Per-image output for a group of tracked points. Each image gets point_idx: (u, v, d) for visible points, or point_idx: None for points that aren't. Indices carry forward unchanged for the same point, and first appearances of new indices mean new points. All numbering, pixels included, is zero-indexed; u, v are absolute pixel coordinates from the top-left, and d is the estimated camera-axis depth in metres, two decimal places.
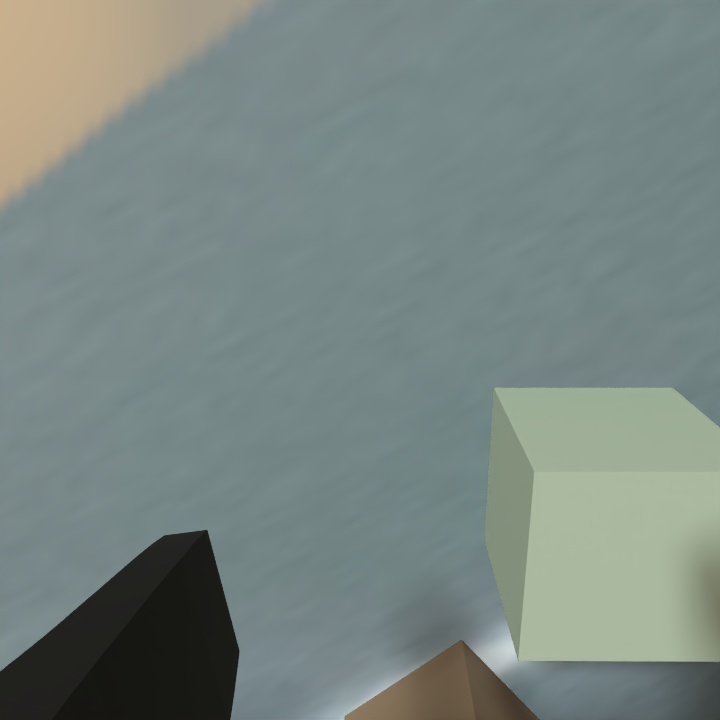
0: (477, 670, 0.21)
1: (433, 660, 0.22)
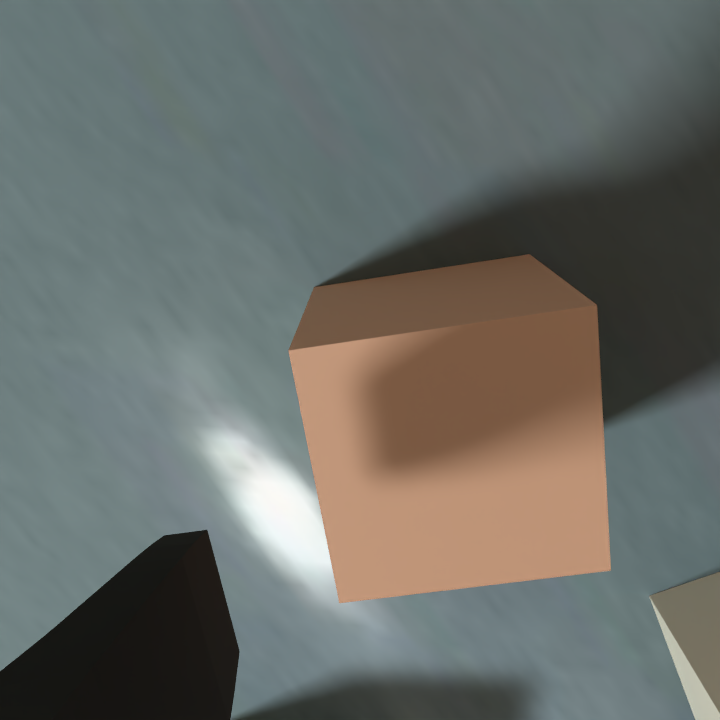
0: None
1: None
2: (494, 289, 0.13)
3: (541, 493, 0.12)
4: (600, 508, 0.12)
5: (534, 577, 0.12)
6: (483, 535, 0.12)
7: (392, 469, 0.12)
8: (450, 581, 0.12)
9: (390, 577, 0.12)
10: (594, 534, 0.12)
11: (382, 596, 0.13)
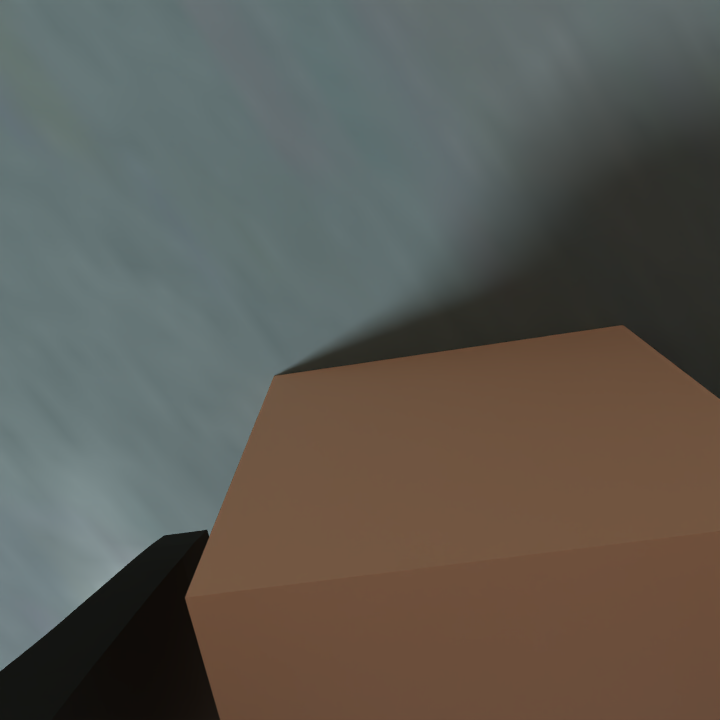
0: None
1: None
2: (595, 420, 0.07)
3: None
4: None
5: None
6: None
7: None
8: None
9: None
10: None
11: None
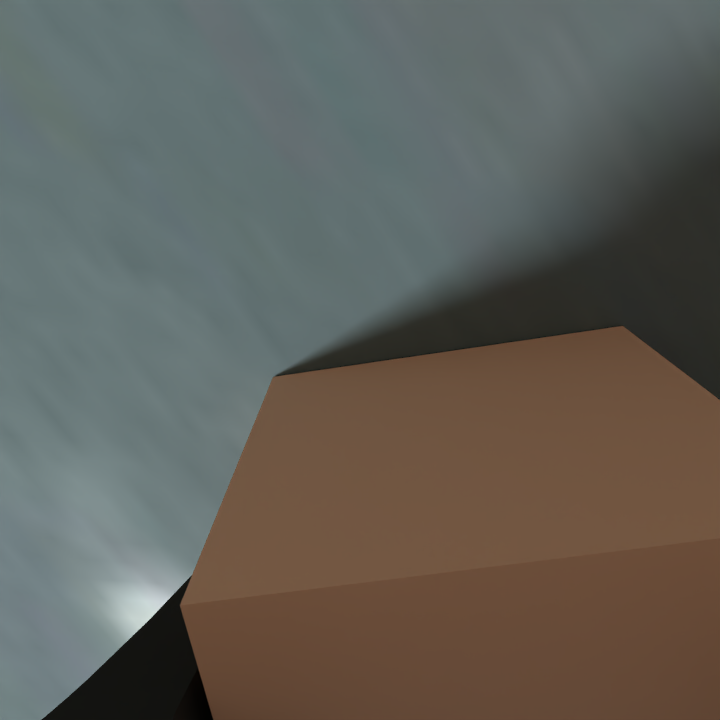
0: None
1: None
2: (597, 424, 0.07)
3: None
4: None
5: None
6: None
7: None
8: None
9: None
10: None
11: None
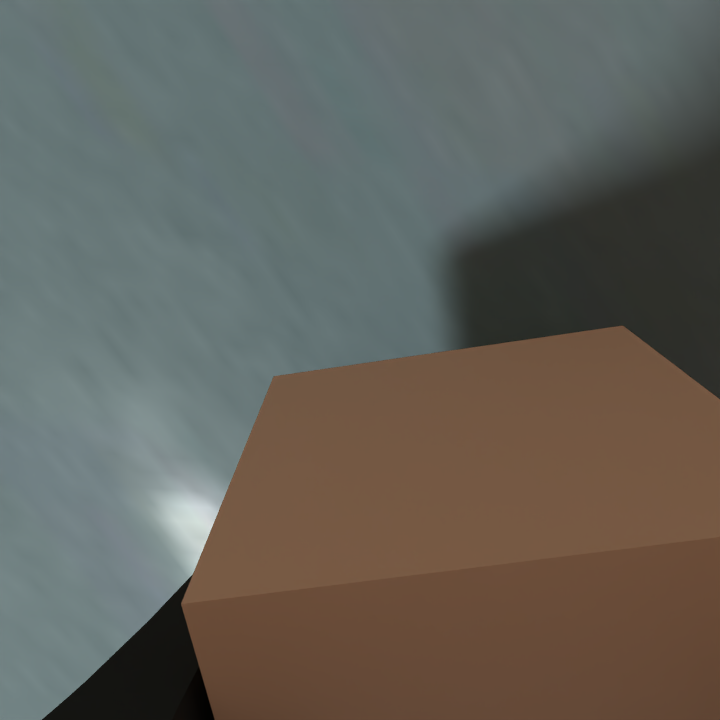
0: None
1: None
2: (596, 423, 0.07)
3: None
4: None
5: None
6: None
7: None
8: None
9: None
10: None
11: None
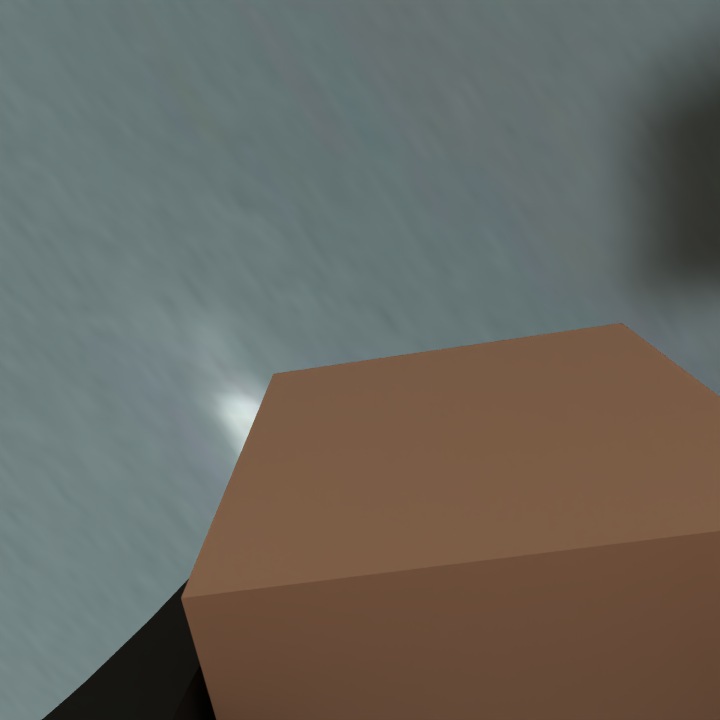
0: None
1: None
2: (595, 419, 0.07)
3: None
4: None
5: None
6: None
7: None
8: None
9: None
10: None
11: None
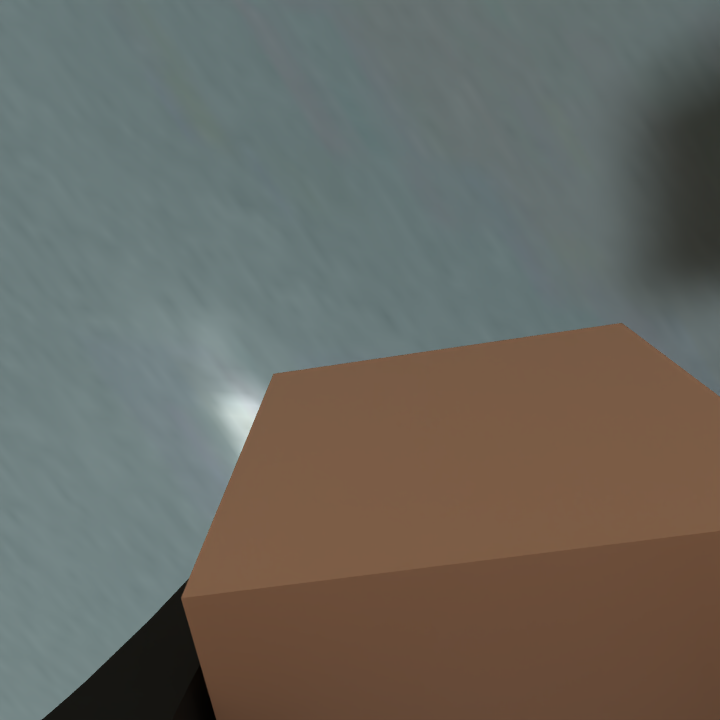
0: None
1: None
2: (595, 419, 0.07)
3: None
4: None
5: None
6: None
7: None
8: None
9: None
10: None
11: None
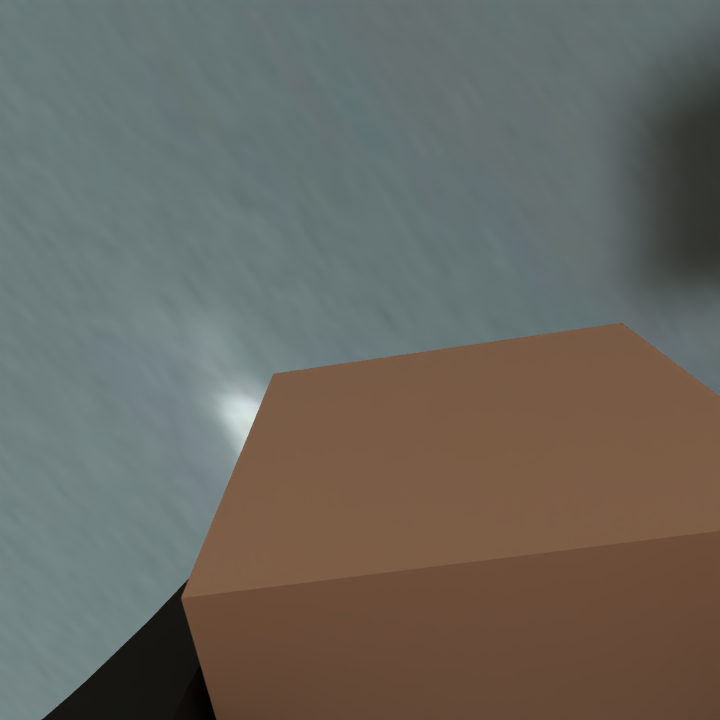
0: None
1: None
2: (595, 419, 0.07)
3: None
4: None
5: None
6: None
7: None
8: None
9: None
10: None
11: None
